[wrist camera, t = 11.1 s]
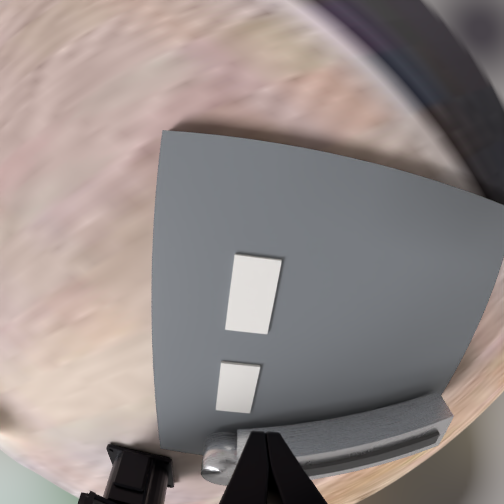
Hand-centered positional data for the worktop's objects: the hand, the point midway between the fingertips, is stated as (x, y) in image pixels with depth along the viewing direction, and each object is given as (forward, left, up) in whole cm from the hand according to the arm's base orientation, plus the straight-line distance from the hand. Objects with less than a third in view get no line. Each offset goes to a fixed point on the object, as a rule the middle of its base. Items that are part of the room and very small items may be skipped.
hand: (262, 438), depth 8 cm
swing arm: (-11, -7, -9) cm, 16 cm away
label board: (-4, -6, -10) cm, 12 cm away
